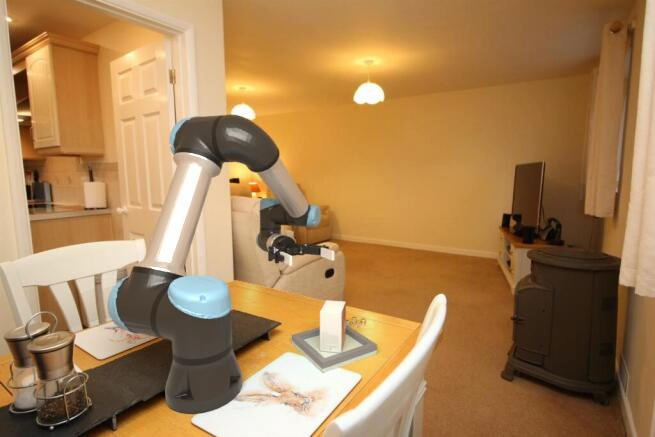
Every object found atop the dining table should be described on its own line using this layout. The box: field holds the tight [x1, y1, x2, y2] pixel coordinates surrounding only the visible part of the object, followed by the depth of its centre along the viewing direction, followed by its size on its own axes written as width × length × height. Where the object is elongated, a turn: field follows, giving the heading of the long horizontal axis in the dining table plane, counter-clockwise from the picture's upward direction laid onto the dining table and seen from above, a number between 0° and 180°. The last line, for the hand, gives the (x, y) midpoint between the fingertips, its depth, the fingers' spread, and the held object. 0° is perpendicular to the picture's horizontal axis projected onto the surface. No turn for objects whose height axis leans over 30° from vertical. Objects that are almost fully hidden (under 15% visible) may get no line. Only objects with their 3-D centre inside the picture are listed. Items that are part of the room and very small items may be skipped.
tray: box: [291, 325, 378, 374], centre depth 89 cm, size 16×16×2 cm
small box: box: [319, 299, 347, 353], centre depth 88 cm, size 8×6×10 cm
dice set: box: [346, 316, 367, 329], centre depth 103 cm, size 5×5×2 cm
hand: (312, 258), depth 96 cm, fingers open, 13 cm apart
